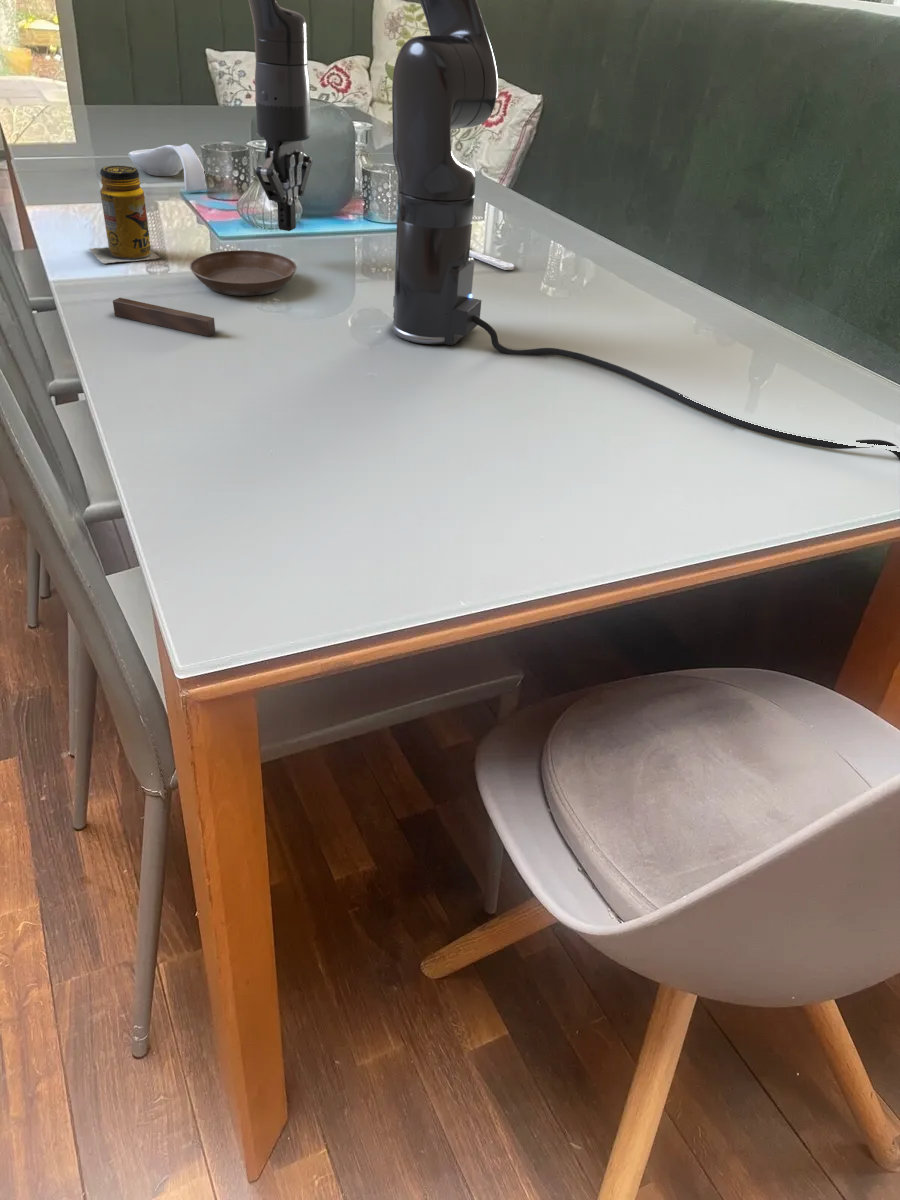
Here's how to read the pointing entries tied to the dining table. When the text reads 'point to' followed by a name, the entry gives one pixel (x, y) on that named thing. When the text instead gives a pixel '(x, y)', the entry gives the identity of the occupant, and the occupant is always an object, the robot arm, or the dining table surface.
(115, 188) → the condiment
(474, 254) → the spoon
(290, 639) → the dining table surface
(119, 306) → the rail
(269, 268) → the saucer
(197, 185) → the spoon rest
